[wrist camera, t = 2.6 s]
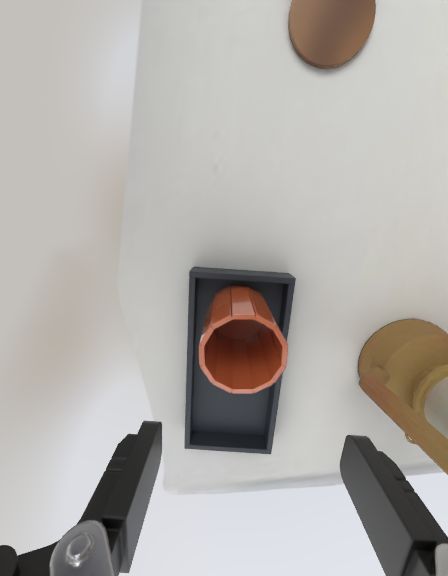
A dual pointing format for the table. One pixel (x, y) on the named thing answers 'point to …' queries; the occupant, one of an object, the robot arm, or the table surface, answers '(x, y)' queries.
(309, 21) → the coaster
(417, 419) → the lantern
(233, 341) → the cup
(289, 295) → the tray
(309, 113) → the table surface
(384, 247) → the table surface
